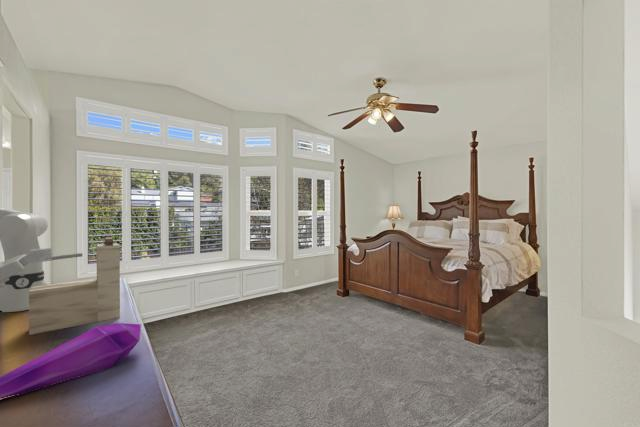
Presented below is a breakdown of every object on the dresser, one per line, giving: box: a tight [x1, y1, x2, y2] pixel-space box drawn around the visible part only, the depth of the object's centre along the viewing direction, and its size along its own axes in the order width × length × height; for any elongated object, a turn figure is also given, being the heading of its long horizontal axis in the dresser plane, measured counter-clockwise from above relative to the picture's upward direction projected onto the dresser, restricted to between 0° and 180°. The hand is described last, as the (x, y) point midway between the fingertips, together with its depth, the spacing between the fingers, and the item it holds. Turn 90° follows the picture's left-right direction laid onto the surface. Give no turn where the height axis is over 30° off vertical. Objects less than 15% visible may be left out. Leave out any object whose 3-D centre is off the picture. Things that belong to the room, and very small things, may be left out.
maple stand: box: [28, 236, 121, 335], centre depth 103 cm, size 8×24×30 cm, turn 130°
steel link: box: [30, 247, 83, 263], centre depth 99 cm, size 13×4×4 cm, turn 130°
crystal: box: [0, 322, 142, 398], centre depth 72 cm, size 9×15×30 cm
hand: (41, 252), depth 97 cm, fingers closed on steel link, 4 cm apart
